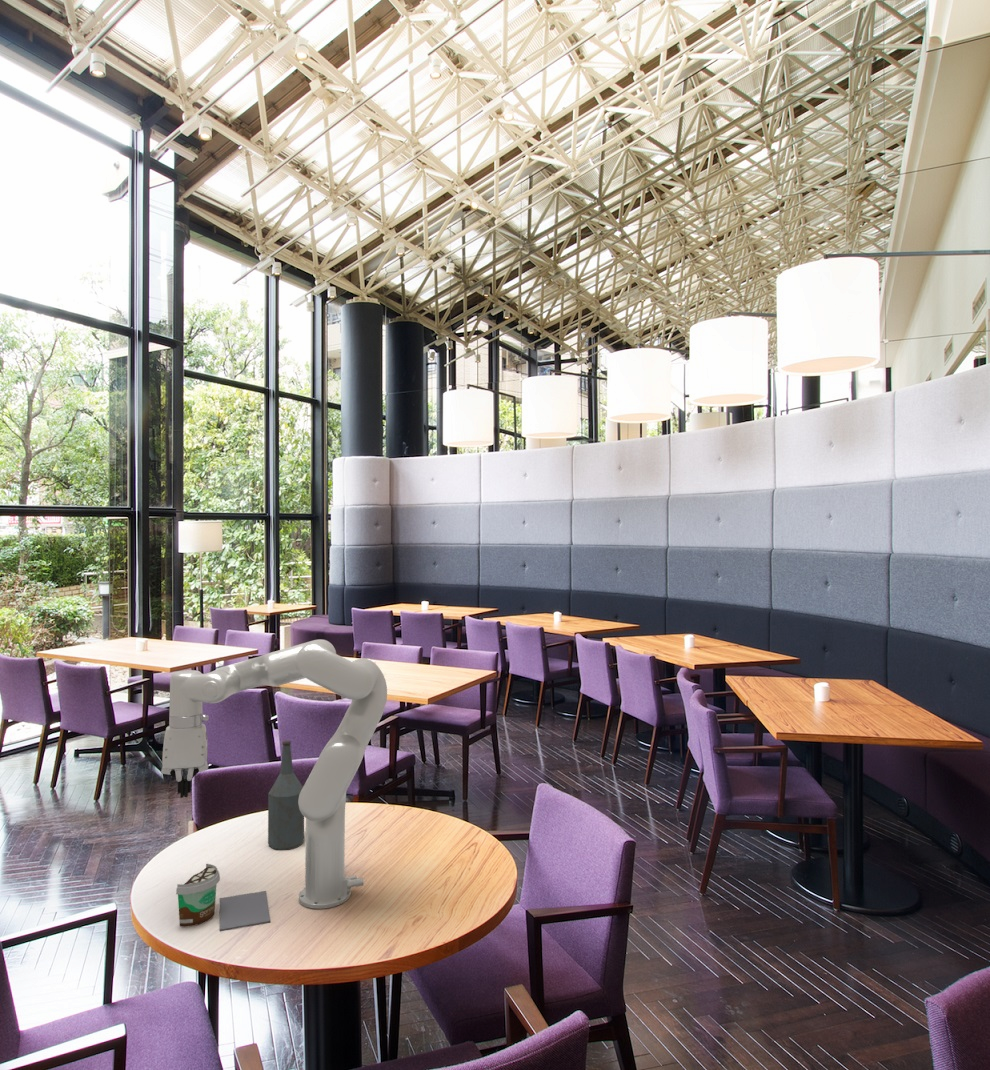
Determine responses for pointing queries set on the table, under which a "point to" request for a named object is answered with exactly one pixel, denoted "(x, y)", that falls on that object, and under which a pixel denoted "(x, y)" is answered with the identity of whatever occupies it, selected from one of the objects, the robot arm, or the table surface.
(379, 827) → the table surface
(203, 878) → the food container
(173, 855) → the table surface
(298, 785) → the bottle
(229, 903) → the mat
